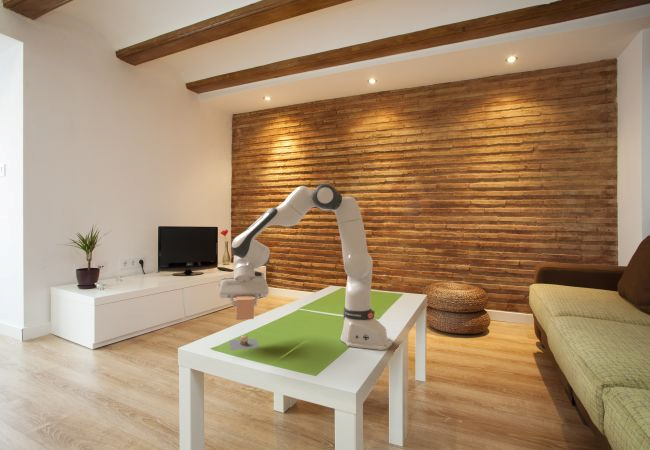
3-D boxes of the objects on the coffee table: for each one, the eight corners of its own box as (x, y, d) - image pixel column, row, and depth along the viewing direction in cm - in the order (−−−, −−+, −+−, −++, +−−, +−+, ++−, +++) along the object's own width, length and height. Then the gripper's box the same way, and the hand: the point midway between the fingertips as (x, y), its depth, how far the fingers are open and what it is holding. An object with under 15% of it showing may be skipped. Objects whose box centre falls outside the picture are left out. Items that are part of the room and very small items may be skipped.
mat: (256, 339, 151) (256, 338, 151) (258, 349, 141) (258, 347, 141) (229, 341, 148) (229, 340, 148) (230, 351, 138) (230, 349, 138)
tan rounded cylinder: (249, 343, 145) (249, 336, 145) (244, 345, 142) (244, 338, 142) (243, 342, 146) (243, 335, 146) (238, 344, 144) (238, 337, 144)
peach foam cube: (252, 314, 149) (252, 295, 148) (253, 319, 142) (254, 299, 142) (235, 315, 147) (236, 296, 146) (236, 319, 140) (236, 299, 140)
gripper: (219, 273, 149) (218, 302, 140) (267, 273, 155) (269, 300, 146) (219, 282, 153) (218, 310, 144) (266, 281, 159) (268, 308, 150)
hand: (244, 305), depth 145 cm, fingers closed on peach foam cube, 7 cm apart
